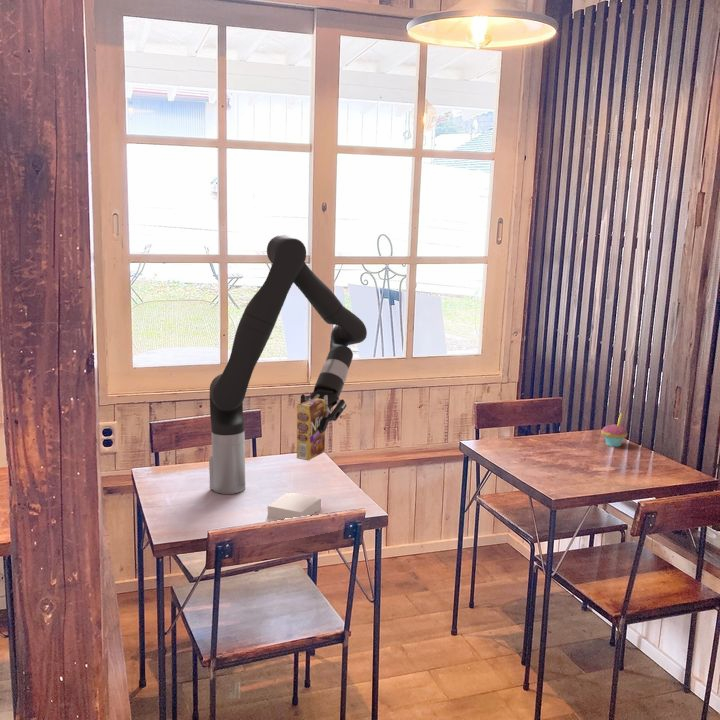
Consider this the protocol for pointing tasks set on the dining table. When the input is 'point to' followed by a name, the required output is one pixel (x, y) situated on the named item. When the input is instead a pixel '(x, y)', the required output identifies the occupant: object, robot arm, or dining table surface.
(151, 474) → the dining table surface
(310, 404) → the candy box
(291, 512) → the plate
